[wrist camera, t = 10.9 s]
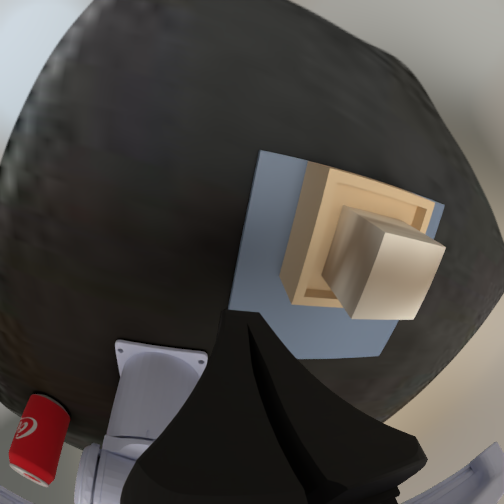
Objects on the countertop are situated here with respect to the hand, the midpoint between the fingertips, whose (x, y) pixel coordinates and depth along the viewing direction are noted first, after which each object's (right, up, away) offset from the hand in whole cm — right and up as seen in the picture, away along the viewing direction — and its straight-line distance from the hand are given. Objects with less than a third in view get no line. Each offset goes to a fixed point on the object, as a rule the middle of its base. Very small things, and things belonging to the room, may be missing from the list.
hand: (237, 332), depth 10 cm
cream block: (+7, +3, +7) cm, 10 cm away
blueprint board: (+7, +1, +11) cm, 13 cm away
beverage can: (-26, -17, +15) cm, 34 cm away
